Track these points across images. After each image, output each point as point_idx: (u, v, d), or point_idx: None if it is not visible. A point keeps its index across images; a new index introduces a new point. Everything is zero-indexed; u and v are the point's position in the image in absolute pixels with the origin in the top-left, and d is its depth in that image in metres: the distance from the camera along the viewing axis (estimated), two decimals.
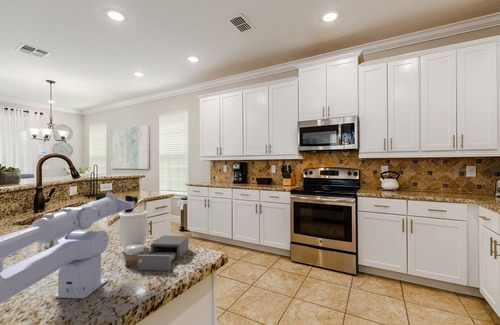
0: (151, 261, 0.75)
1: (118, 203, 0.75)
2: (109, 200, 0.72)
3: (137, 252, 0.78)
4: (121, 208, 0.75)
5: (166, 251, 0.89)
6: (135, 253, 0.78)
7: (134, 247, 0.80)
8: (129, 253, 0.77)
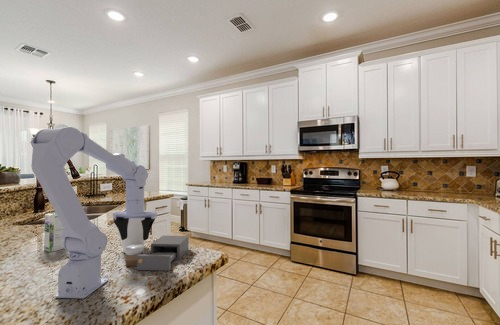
0: (151, 261, 0.75)
1: (144, 212, 0.81)
2: None
3: (137, 252, 0.78)
4: None
5: (166, 251, 0.89)
6: (135, 253, 0.78)
7: (134, 246, 0.80)
8: (129, 253, 0.77)
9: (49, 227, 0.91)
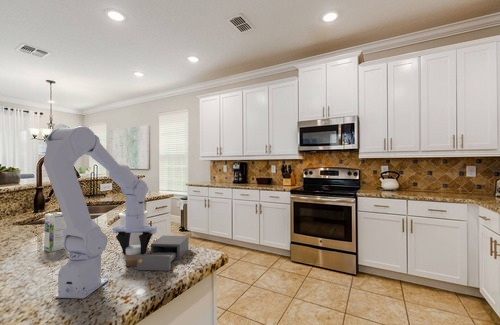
0: (151, 261, 0.75)
1: (144, 227, 0.81)
2: None
3: (137, 252, 0.78)
4: None
5: (166, 251, 0.89)
6: (135, 253, 0.78)
7: (134, 246, 0.80)
8: (129, 253, 0.77)
9: (49, 227, 0.91)
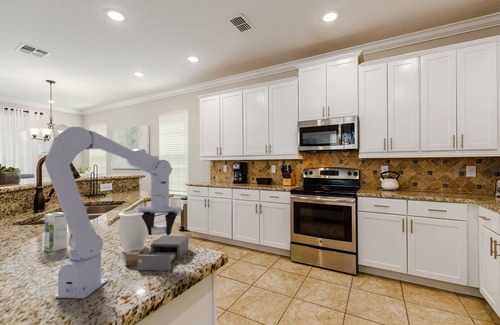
0: (151, 261, 0.75)
1: (169, 207, 0.80)
2: None
3: (163, 232, 0.78)
4: None
5: (166, 251, 0.89)
6: (161, 233, 0.77)
7: (159, 227, 0.80)
8: (155, 233, 0.77)
9: (49, 227, 0.91)
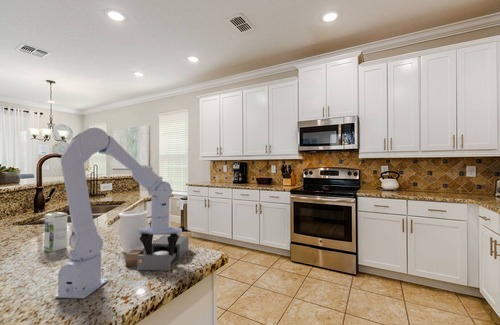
0: (151, 261, 0.75)
1: (169, 228, 0.80)
2: None
3: None
4: None
5: None
6: None
7: (159, 254, 0.80)
8: None
9: (49, 227, 0.91)
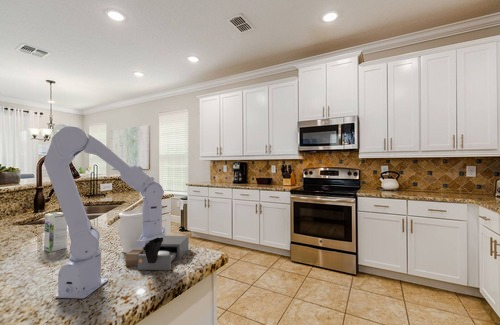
0: None
1: (149, 236, 0.71)
2: (156, 226, 0.72)
3: None
4: None
5: None
6: None
7: (160, 253, 0.80)
8: None
9: (49, 227, 0.91)
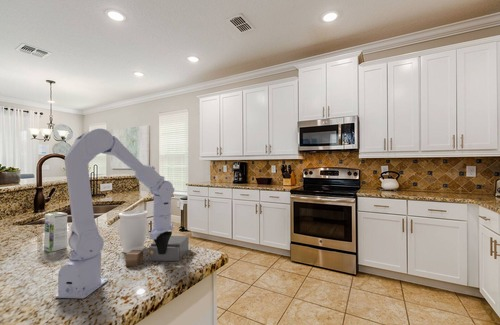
0: None
1: (160, 229, 0.78)
2: (166, 220, 0.79)
3: None
4: None
5: None
6: None
7: (168, 246, 0.87)
8: None
9: (49, 227, 0.91)
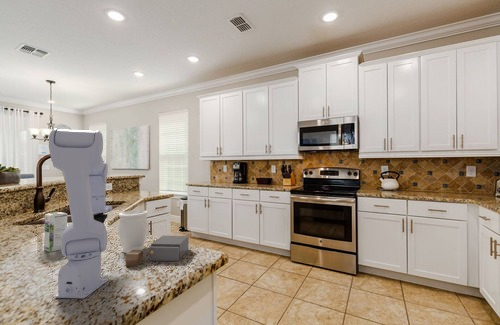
0: (161, 252, 0.82)
1: None
2: (98, 202, 0.76)
3: None
4: None
5: None
6: None
7: (168, 246, 0.87)
8: None
9: (49, 227, 0.91)
